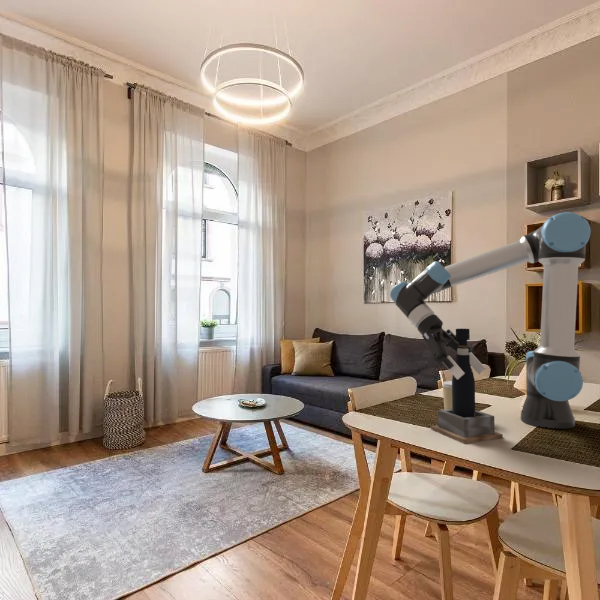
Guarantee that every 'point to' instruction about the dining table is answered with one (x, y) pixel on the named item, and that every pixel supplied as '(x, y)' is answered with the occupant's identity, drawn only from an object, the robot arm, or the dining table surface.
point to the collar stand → (466, 426)
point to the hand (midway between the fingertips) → (472, 373)
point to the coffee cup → (447, 394)
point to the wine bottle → (463, 379)
